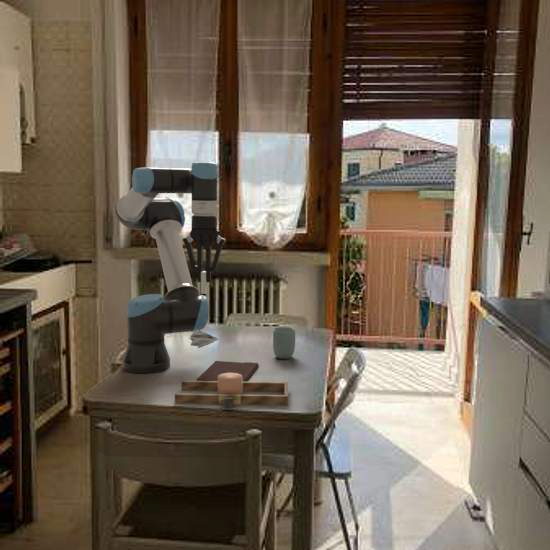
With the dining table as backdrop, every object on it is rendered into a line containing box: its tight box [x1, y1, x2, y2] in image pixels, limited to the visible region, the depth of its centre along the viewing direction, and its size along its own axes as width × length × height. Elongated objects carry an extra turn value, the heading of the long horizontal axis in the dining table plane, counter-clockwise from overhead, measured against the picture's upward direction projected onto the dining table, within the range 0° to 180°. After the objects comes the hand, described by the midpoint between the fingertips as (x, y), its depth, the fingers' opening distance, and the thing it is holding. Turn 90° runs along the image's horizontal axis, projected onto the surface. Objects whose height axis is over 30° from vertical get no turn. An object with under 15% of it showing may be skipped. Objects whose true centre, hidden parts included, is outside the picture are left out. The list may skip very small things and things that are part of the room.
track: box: [174, 380, 289, 409], centre depth 170 cm, size 31×14×2 cm, turn 89°
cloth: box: [189, 330, 220, 349], centre depth 234 cm, size 26×14×2 cm, turn 175°
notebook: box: [195, 360, 260, 382], centre depth 191 cm, size 15×20×2 cm
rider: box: [217, 373, 243, 395], centre depth 171 cm, size 7×7×6 cm
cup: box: [272, 326, 296, 360], centre depth 210 cm, size 8×8×10 cm
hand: (204, 292), depth 183 cm, fingers closed
